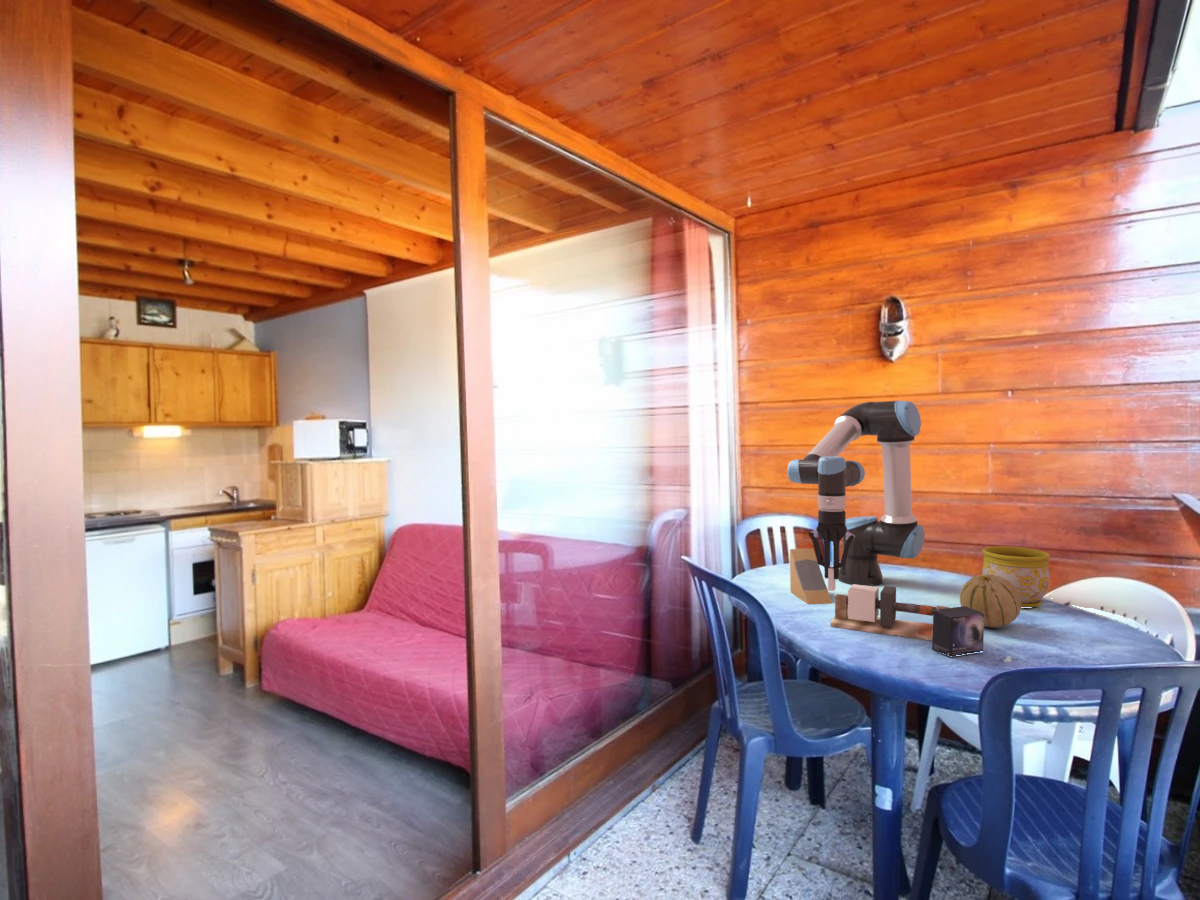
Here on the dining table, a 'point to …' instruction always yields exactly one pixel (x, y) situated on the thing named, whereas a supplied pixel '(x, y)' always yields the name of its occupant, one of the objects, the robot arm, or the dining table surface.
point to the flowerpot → (1020, 570)
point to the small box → (958, 630)
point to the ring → (887, 606)
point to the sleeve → (863, 602)
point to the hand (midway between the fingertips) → (831, 589)
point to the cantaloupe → (992, 599)
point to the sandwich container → (807, 577)
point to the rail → (897, 629)
